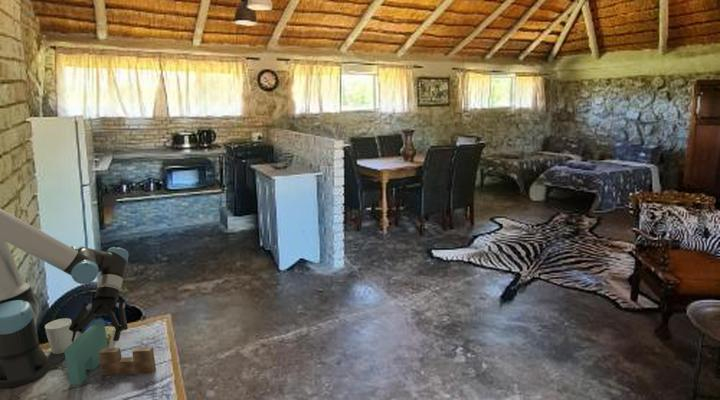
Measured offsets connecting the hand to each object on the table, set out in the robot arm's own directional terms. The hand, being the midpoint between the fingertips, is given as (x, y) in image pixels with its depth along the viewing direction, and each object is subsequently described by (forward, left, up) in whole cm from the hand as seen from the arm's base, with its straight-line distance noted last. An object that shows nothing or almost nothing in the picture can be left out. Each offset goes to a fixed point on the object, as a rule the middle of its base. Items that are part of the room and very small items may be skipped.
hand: (92, 351), depth 154 cm
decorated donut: (-17, +4, -5) cm, 18 cm away
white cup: (-19, -8, -5) cm, 21 cm away
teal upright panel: (+2, -1, -5) cm, 5 cm away
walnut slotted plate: (+12, +8, -5) cm, 16 cm away
